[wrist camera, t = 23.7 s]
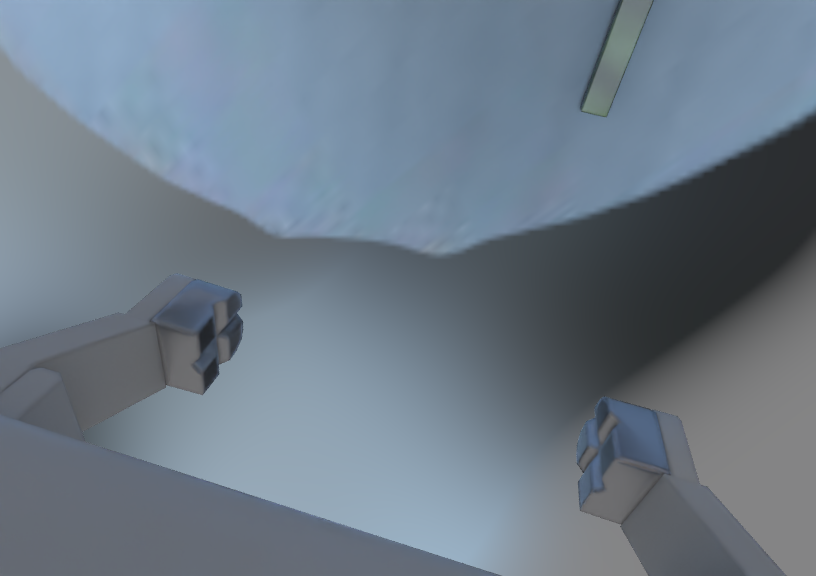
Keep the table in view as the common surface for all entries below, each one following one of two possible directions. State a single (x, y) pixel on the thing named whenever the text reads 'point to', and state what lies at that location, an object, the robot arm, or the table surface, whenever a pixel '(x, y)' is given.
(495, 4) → the table surface
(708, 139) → the table surface
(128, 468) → the robot arm
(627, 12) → the fork
